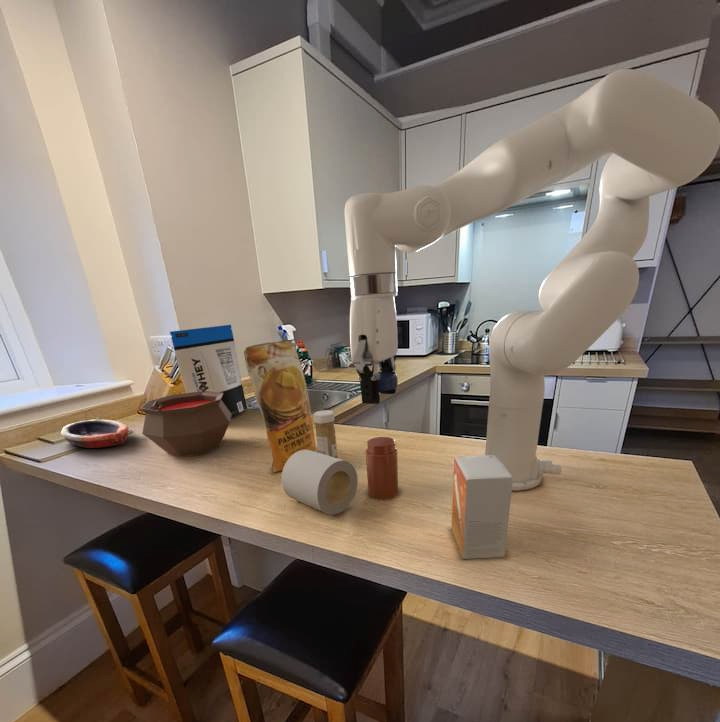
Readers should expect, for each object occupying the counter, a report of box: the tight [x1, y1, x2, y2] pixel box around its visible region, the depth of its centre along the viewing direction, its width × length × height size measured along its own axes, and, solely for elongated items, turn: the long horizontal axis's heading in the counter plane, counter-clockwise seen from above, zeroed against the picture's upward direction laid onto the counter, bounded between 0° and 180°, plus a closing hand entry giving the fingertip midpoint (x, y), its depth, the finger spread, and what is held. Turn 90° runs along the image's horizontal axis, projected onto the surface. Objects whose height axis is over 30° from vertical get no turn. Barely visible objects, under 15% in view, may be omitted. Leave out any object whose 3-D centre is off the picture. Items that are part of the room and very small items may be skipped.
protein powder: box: [169, 324, 248, 419], centre depth 134 cm, size 10×24×30 cm, turn 149°
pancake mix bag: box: [243, 339, 317, 473], centre depth 91 cm, size 7×19×28 cm, turn 148°
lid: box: [359, 372, 399, 391], centre depth 69 cm, size 6×6×2 cm
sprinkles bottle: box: [312, 409, 339, 459], centre depth 88 cm, size 5×5×14 cm
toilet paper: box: [281, 450, 359, 516], centre depth 73 cm, size 10×10×10 cm
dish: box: [60, 417, 129, 449], centre depth 122 cm, size 16×31×5 cm, turn 52°
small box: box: [450, 454, 513, 560], centre depth 58 cm, size 8×6×13 cm
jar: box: [365, 436, 399, 500], centre depth 76 cm, size 6×6×11 cm
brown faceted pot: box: [138, 382, 232, 458], centre depth 108 cm, size 24×24×16 cm
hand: (379, 397), depth 71 cm, fingers closed on lid, 6 cm apart
